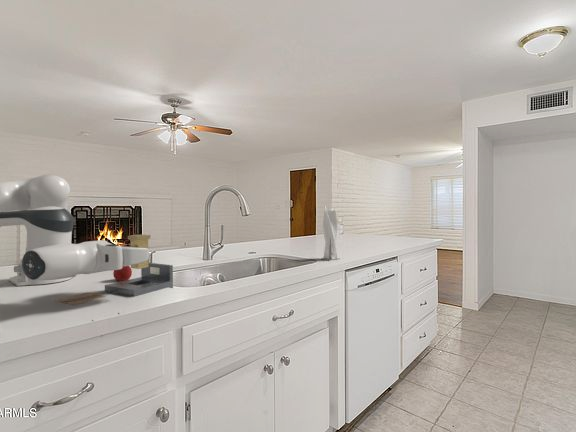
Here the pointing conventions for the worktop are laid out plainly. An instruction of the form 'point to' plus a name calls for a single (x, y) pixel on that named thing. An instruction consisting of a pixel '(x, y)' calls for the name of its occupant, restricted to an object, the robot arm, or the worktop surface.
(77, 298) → the brown square coaster
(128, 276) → the onion
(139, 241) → the tan wooden upright block
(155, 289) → the tray
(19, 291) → the worktop surface
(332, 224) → the skyscraper
